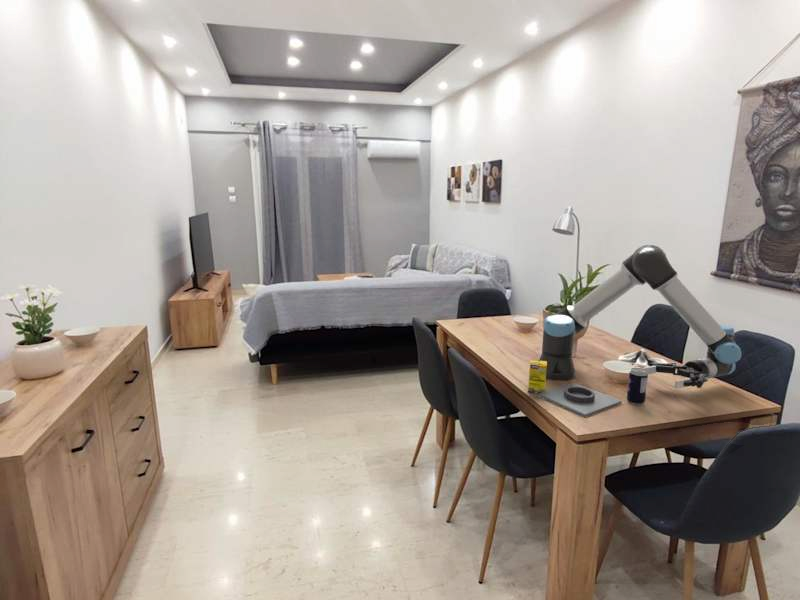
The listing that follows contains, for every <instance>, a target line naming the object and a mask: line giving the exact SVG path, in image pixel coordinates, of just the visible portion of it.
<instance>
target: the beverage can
mask: <svg viewBox="0 0 800 600" xmlns="http://www.w3.org/2000/svg"><path fill="white" fill-rule="evenodd" d="M642 368H643V367H632V368H630V371H629V376H628V386H627V392H626V393H627V394H626V400H627V401H628V402H629V403H630V404H632V405H636V406H641V405H642V404H644V403H645V402H646V396H647V395H646V394H647V385H648V377H649V374H647V371H646V370H645V369H642Z"/></svg>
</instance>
